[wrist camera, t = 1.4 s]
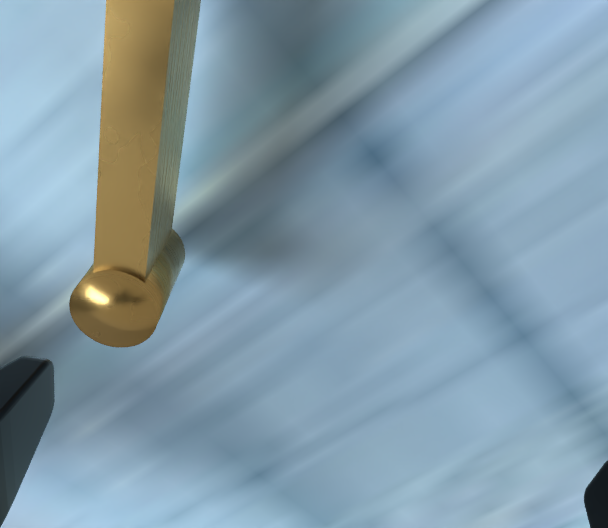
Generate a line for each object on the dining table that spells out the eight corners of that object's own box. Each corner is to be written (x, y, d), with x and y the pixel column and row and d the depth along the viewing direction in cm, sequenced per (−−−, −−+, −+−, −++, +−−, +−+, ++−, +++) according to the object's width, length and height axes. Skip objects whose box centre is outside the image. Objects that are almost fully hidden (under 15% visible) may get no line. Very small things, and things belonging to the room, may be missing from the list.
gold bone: (133, -232, 13) (65, -312, 9) (262, -193, 13) (245, -254, 9) (103, 271, 19) (58, 336, 16) (188, 288, 20) (162, 356, 16)
